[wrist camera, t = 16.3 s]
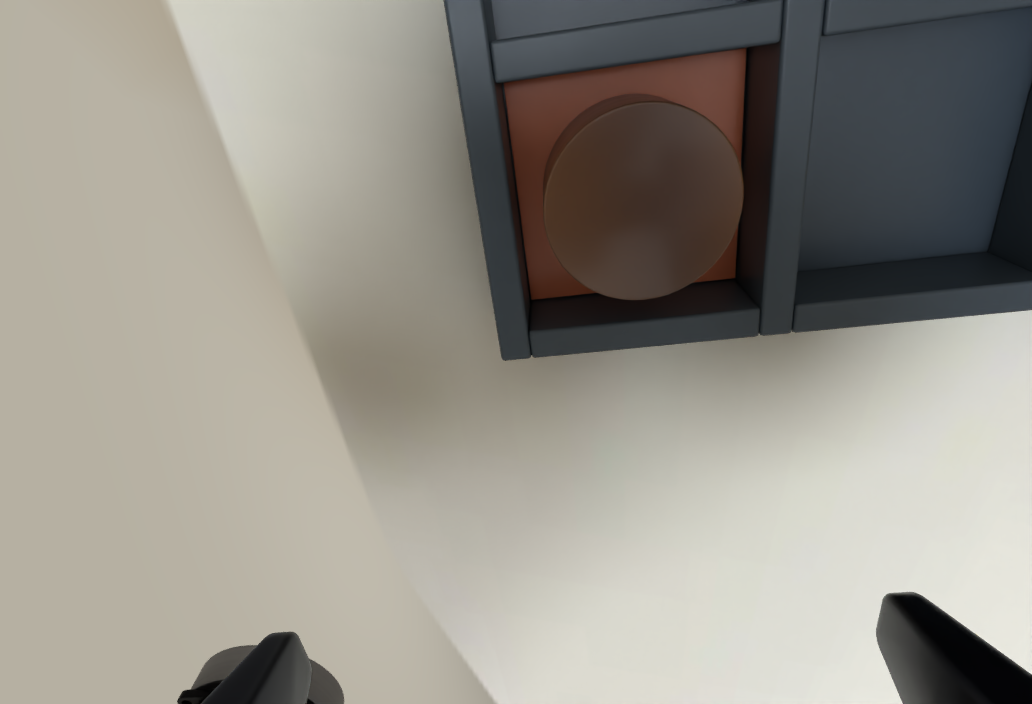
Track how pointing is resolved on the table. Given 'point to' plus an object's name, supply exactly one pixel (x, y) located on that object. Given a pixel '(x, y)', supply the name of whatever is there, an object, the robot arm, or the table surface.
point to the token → (641, 196)
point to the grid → (766, 158)
